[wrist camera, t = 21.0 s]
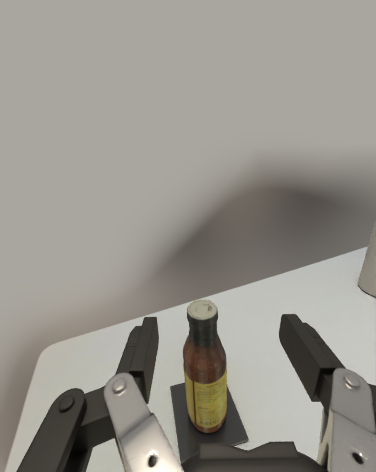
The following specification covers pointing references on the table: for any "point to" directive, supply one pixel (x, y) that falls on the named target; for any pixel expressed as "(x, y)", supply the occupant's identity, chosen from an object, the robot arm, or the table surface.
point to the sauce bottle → (205, 368)
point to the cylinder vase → (369, 267)
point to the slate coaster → (191, 436)
